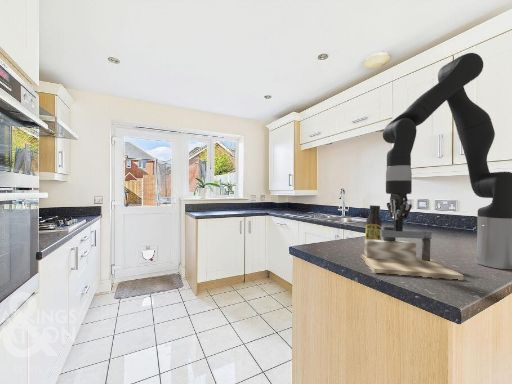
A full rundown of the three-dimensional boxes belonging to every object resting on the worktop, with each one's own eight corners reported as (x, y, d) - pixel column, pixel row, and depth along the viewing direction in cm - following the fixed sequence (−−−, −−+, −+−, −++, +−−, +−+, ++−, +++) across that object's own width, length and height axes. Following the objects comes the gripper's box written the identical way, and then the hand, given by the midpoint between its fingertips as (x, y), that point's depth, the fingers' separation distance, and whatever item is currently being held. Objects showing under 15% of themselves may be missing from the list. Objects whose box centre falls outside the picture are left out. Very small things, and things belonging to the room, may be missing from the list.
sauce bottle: (364, 251, 102) (364, 205, 102) (365, 248, 108) (365, 204, 108) (381, 253, 99) (382, 205, 99) (381, 250, 105) (382, 205, 105)
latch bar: (428, 237, 86) (428, 231, 86) (433, 239, 83) (433, 232, 83) (379, 235, 88) (379, 229, 88) (382, 237, 85) (382, 230, 85)
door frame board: (430, 262, 87) (431, 228, 87) (463, 280, 69) (464, 237, 69) (360, 257, 91) (361, 225, 91) (374, 273, 74) (374, 233, 74)
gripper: (421, 178, 73) (421, 234, 73) (400, 180, 86) (400, 228, 86) (395, 178, 74) (395, 234, 74) (378, 180, 87) (378, 227, 87)
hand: (398, 231), depth 80 cm, fingers closed
